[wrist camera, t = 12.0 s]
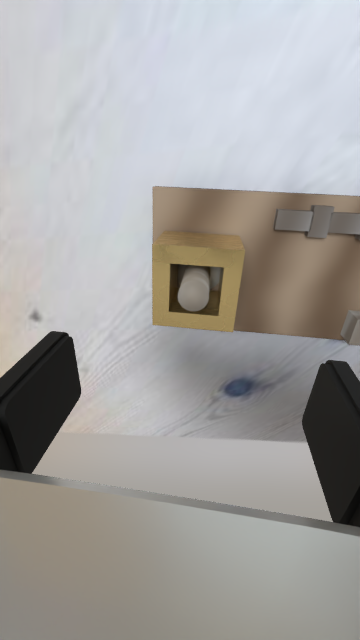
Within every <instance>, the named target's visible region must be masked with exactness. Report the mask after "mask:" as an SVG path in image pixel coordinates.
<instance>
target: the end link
mask: <svg viewBox="0 0 360 640" xmlns="http://www.w3.org/2000/svg"><path fill="white" fill-rule="evenodd" d="M244 255H245V249H244V246H243V244H242V241H241V239H240V236H238V235H223V234H207V233H192V232H176V231H164V232H163V233H162V234H161V235H160V236H159V237H158V239H157V240H156V241H155V242H154V243H153V244H152V283H153V325H161V326H172V327H182V328H193V329H204V330H215V331H226V332H233V329H234V322H235V315H236V309H237V302H238V295H239V289H240V282H241V275H242V269H243V262H244ZM178 264H184V265H197V266H211V267H220V276H219V284H218V291H214V290H209V300H208V303H207V305H206V306H205V307H204V308H203V309H201V310H199V311H188V310H186V309H184V308H183V307H182V306H181V305H180V303H179V301H178V292H179V289H180V288H177V275H178Z"/></svg>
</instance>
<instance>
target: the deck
mask: <svg viewBox="0 0 360 640" xmlns="http://www.w3.org/2000/svg"><path fill="white" fill-rule="evenodd" d="M164 231H176V232H192V233H207V234H223V235H238V236H240V239H241V241H242V244H243V246H244V249H245V255H244V262H243V269H242V275H241V282H240V289H239V295H238V302H237V309H236V315H235V322H234V329H233V330H235V331H246V332H257V333H269V334H280V335H291V336H303V337H314V338H326V339H337V340H345V341H346V342H347V343H348V344H349V345H360V196H346V195H325V194H305V193H284V192H263V191H242V190H222V189H201V188H180V187H159V186H155V187H153V243H154V242H155V241H156V240H157V239H158V237H159V236H160V235H161V234H162V233H163V232H164ZM219 276H220V267H211V266H197V265H184V264H178V275H177V288H180V289H179V292H178V301H179V303H180V305H181V306H182V307H183V308H184V309H186V310H188V311H199V310H201V309H203V308H204V307H205V306H206V305H207V303H208V300H209V290H214V291H218V284H219Z"/></svg>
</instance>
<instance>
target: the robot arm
mask: <svg viewBox="0 0 360 640" xmlns="http://www.w3.org/2000/svg"><path fill="white" fill-rule="evenodd" d="M80 395H81V386H80V380H79V374H78V368H77V362H76V356H75V349H74V343H73V339H72V337H69V335H68V333H65V332H56V331H51V332H50V333H48V334H47V335H46V336H45V337H44V338H43V339H42V340H41V341H40V342H39V343H38V344H37V345H36V346H34V347H33V348H32V349H31V350H30V351H29V352H28V353H27V354H26V355H25V356H24V357H23V358H21V359H20V360H19V361H18V362H17V363H16V364H15V365H14V366H13V367H12V368H11V369H10V370H9V371H7V372H6V373H5V374H4V375H3V376H2V377H1V378H0V640H360V381H359V380H358V378H357V377H356V375H355V374H354V372H353V371H352V369H351V368H350V366H349V365H348V363H347V362H343V361H333V360H328V361H327V362H326V363H325V364H321V365H320V367H319V370H318V373H317V376H316V379H315V382H314V385H313V388H312V391H311V394H310V397H309V400H308V403H307V406H306V409H305V412H304V415H303V419H302V425H303V429H304V433H305V436H306V439H307V442H308V445H309V448H310V452H311V454H312V458H313V461H314V464H315V467H316V470H317V474H318V477H319V480H320V483H321V486H322V489H323V492H324V496H325V499H326V502H327V505H328V508H329V511H330V515H331V518H332V520H333V522H328V521H322V520H317V519H312V518H306V517H300V516H295V515H289V514H283V513H276V512H270V511H264V510H258V509H252V508H246V507H240V506H233V505H228V504H221V503H216V502H210V501H202V500H197V499H191V498H184V497H178V496H172V495H165V494H159V493H152V492H147V491H140V490H133V489H128V488H121V487H115V486H108V485H101V484H95V483H89V482H81V481H76V480H69V479H62V478H55V477H48V476H42V475H36V474H31V473H32V472H33V471H34V469H35V468H36V466H37V464H38V463H39V461H40V460H41V458H42V456H43V455H44V453H45V452H46V450H47V449H48V447H49V445H50V444H51V442H52V441H53V439H54V438H55V436H56V434H57V433H58V431H59V430H60V428H61V426H62V425H63V423H64V422H65V420H66V419H67V417H68V415H69V414H70V412H71V411H72V409H73V407H74V406H75V404H76V403H77V401H78V400H79V398H80Z"/></svg>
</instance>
